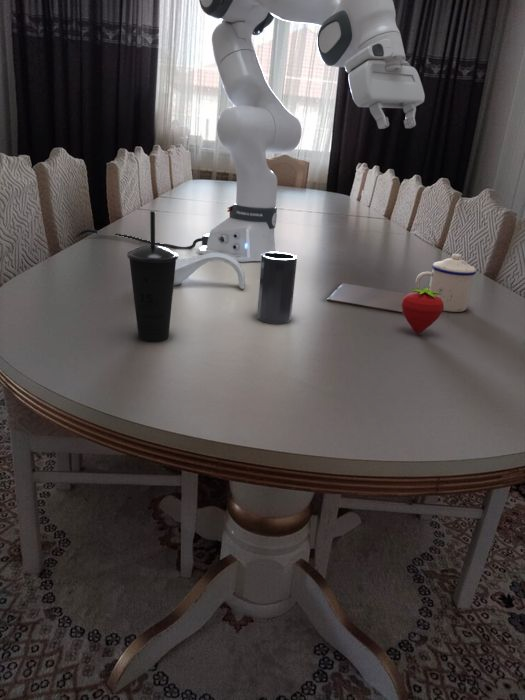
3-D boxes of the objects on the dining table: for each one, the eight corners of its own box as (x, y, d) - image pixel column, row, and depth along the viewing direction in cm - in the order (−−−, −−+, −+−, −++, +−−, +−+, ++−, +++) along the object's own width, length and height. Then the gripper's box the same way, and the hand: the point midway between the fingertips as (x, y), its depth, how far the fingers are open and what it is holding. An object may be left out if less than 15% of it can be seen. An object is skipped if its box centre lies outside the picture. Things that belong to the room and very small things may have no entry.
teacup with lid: (461, 302, 119) (473, 252, 115) (472, 314, 110) (484, 260, 106) (408, 297, 120) (418, 247, 116) (415, 309, 111) (425, 255, 107)
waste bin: (251, 320, 96) (256, 256, 92) (263, 311, 102) (268, 250, 98) (284, 326, 95) (290, 261, 90) (294, 316, 100) (301, 255, 96)
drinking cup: (132, 327, 88) (130, 206, 81) (178, 329, 89) (180, 209, 81) (125, 344, 81) (122, 213, 73) (175, 346, 82) (176, 216, 74)
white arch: (134, 287, 111) (133, 253, 108) (145, 274, 122) (144, 243, 119) (244, 294, 112) (246, 261, 109) (245, 280, 123) (247, 250, 120)
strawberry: (394, 325, 100) (404, 274, 96) (434, 329, 99) (445, 279, 95) (398, 335, 94) (408, 282, 91) (440, 340, 94) (452, 286, 90)
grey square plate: (326, 300, 112) (327, 298, 112) (342, 284, 126) (342, 283, 126) (401, 313, 108) (402, 311, 107) (409, 295, 122) (409, 293, 122)
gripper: (399, 69, 114) (413, 133, 115) (338, 63, 101) (355, 134, 103) (423, 54, 109) (438, 121, 110) (363, 46, 96) (380, 121, 98)
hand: (397, 127), depth 106 cm, fingers open, 8 cm apart
